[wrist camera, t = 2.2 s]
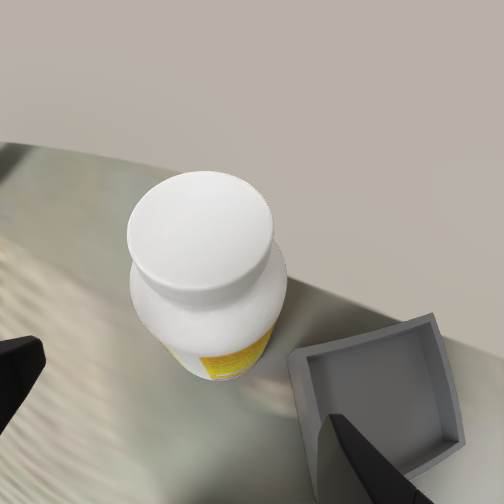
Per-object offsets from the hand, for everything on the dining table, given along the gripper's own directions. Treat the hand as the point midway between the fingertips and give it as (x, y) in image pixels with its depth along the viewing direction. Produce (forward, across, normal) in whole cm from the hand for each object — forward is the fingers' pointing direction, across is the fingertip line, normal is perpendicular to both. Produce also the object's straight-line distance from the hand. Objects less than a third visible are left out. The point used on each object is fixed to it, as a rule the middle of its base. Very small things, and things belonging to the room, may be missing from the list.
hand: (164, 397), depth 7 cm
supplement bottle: (+12, 0, +5) cm, 13 cm away
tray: (+9, -12, +8) cm, 17 cm away
